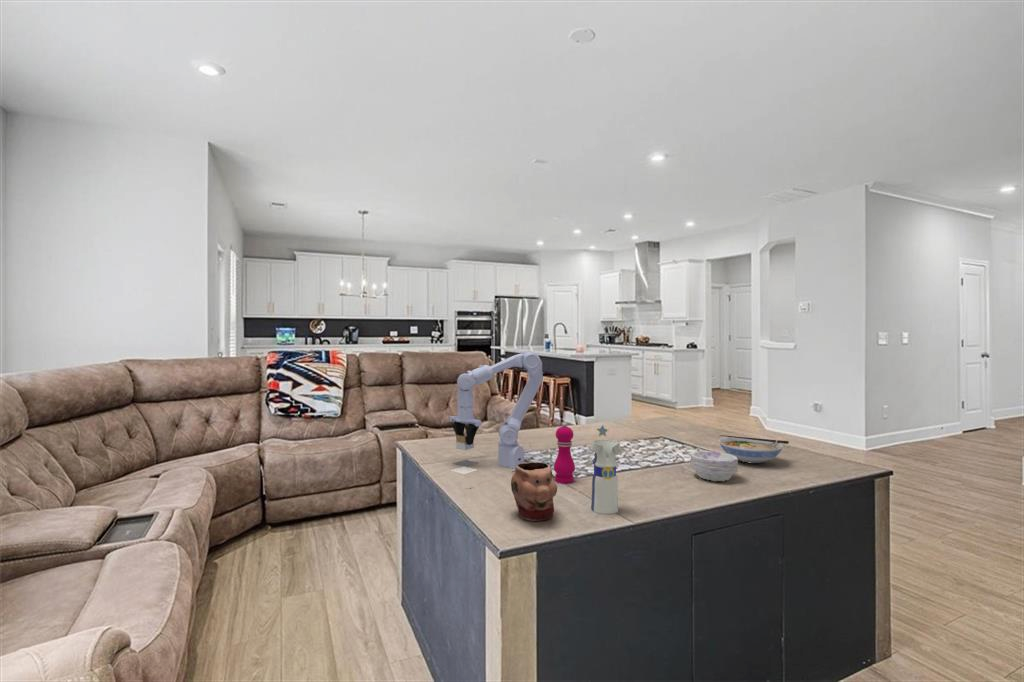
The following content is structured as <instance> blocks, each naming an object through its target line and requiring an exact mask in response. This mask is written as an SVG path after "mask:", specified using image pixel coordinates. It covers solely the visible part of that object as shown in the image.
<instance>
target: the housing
mask: <svg viewBox="0 0 1024 682" xmlns="http://www.w3.org/2000/svg"><path fill="white" fill-rule="evenodd" d="M455 439H456V440H455V442H456V449H458V450H462V451H467V450H470V449H474V448H475V447H474V446H475V445H474V444H475V443H474V442H475V441H473V444H471V445H468V444H467V434H466V432H464V433H462V434H458V435H456V434H455Z"/></svg>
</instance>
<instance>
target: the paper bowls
mask: <svg viewBox="0 0 1024 682" xmlns="http://www.w3.org/2000/svg"><path fill="white" fill-rule="evenodd" d="M738 464H739V460H738V458H737V457H736V456H734V455H731V454H727V453H726V452H720V451H710V450H709V451H707V450H706V451H705V450H703V451H702V450H701V451H694V452H691V454H690V465H689V466H690V469H691V470H694V471H695V472H696V474H697V476H698V477H699V478H700V479H702V478H703V480H705V479H706V480H705V481H709V480H711V481H710V482H717V481H722V482H726V481H725V480H727V481H729V480H730V479H731V477H732V476H733V475H735V474H737V473H738V468H739V467H738Z"/></svg>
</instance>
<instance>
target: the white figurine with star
mask: <svg viewBox="0 0 1024 682" xmlns="http://www.w3.org/2000/svg"><path fill="white" fill-rule="evenodd" d="M596 430H597V431H598V432H599V433H598V437H601V436H604V437H607V434H606V433H607V432H608V431H609V429H608V428H605V427H604V424H602V425H601V426H600V427H599V428H596ZM590 450H591V451H592V452H593V453H594V459H593V461H592V464H593V475H592V479H591V502H590V503H591V504H590V509H591V510H592V512H594V513H597V514H602V515H612V514H616V513H618V512H619V497H618V495H619V494H618V487H619V486H618V484H619V483H618V477H617V465H618V462H617V460H616V456H618V455H619V454H620V453H621V451H622V448H621V446H620V443H619V442H618V441H617V440H613V439H609V438H608V439H606V438H605V439H603V438H600V439H594V440H592V443H591V444H590Z"/></svg>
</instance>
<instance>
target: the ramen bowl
mask: <svg viewBox="0 0 1024 682" xmlns="http://www.w3.org/2000/svg"><path fill="white" fill-rule="evenodd" d="M719 436H720V437H721V438H718V442H719V445H720V447H721V448H722V449H723V451H724V453H727V454H731V455H734V456H736V457H737V458H738V461H739V460H740V461H739V462H741V461H744V462H751V463H759V462H761V463H764V462H769V461H770V460H772V459H774V458H776V457H777V456H778V455H779V454H780V453H781V451H782V450H783V449H784V446H783V444H787V445H789V443H790V442H789V441H790V440H789V441H787V440H779V439H770V438H769V439H767V438H757V437H748V436H733V435H723V434H722V435H721V434H720V435H719ZM759 464H760V463H759Z"/></svg>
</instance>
